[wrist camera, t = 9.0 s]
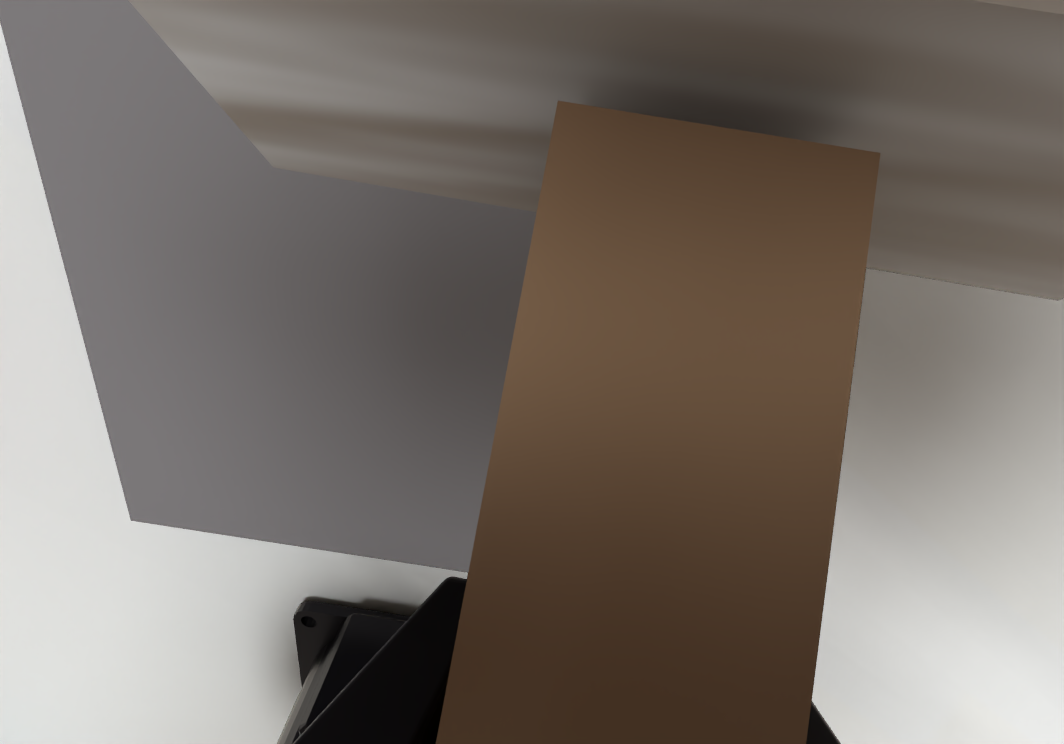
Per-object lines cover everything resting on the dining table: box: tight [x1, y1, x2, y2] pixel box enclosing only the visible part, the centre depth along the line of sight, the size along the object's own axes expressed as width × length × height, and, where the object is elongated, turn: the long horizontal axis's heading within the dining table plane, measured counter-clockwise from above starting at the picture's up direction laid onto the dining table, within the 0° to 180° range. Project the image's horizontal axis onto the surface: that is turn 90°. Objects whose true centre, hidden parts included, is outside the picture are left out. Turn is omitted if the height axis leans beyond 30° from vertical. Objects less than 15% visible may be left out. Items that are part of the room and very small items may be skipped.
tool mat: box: [0, 0, 537, 572], centre depth 17 cm, size 20×16×1 cm
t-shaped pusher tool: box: [128, 0, 1064, 744], centre depth 8 cm, size 12×12×6 cm
